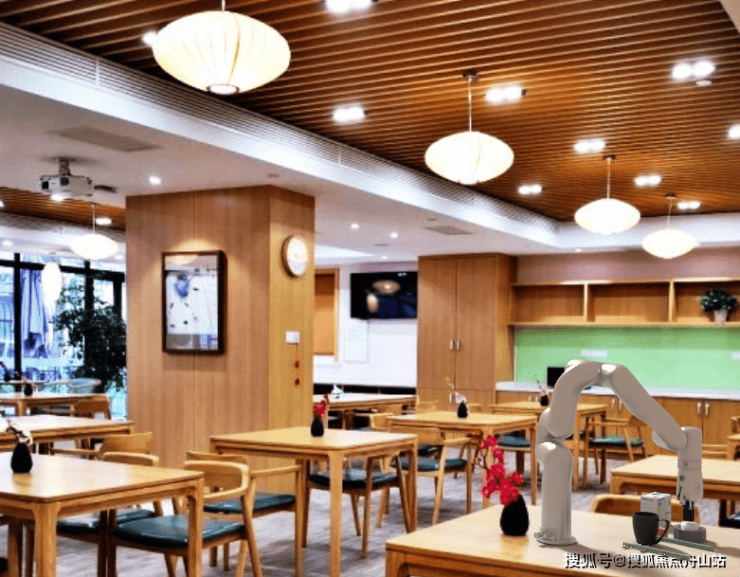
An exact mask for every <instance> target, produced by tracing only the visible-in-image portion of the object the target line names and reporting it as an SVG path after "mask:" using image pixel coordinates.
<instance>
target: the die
mask: <svg viewBox="0 0 740 577" xmlns="http://www.w3.org/2000/svg"><path fill="white" fill-rule="evenodd" d="M665 528H666V527H659V529H658V534H657V536H661V535H662V534H663V532H664V530H665ZM664 537H667V538H669V529H668V530H667V532H666V534H665V535H664Z"/></svg>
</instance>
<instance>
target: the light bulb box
mask: <svg viewBox="0 0 740 577" xmlns="http://www.w3.org/2000/svg"><path fill="white" fill-rule="evenodd" d="M640 512H652V513H656V514H658V515H659V519H667V520H669V522H670V525H669V526H671V525H672V494H670V493H662V492H656V491H653V492H650V493H647V494H644V495H640ZM659 527H663V528H666V522H665V521H659Z"/></svg>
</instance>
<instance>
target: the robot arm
mask: <svg viewBox="0 0 740 577" xmlns="http://www.w3.org/2000/svg"><path fill="white" fill-rule="evenodd" d="M555 382H556V383H554V387H553V389H552V390H553V391H552V395H551V401H550V406H549V407H547V408H546V409H544V410H543V411H542V413H541V414H540V415H539V416H540V417H539V419H538V424H537V428H536V429H537V431H536V438H535V446H534V456H535V459H536V460H537V462H538V464H540V465H541V466H542V467H543V470H542V476H541V526H540V528H539V529H540V530H539V531H535V532H534V533H533V538H535V539H536V541H538V542H540V543H543V544H547V545H552V546H553V545H554V546H555V545H556V546H567V545H573V544H575V543H576V542H577V538H576V536H574V535H572V483H573V482H572V481H573V471H574V465H575V464H574V463H575V461H574V460H575V459H574V455H573V452H572V450H571V449H570V448H569V447H568V446H567V445H566V444H565V439H567V438H569V437H571V436H572V435H573V434H574V432H575V427H576V419H577V413H578V412H577V411H578V404H579V400H580V396H581V394H582V393H583V391H584V390H585V388H587V387H589V386H590V387H597V388H608V389H610V390H611V391H612V392H613V393H614V394H615V395H616V397H617V398H618V400H620V402H621V403H622V404H623V406H625V408H626V409H627V411H629V413H630V414H632V415H633V416H634V417H635V418H637V419H638V420H640V421H641V422H643V423H644V424H646V425H648V427H650V428H651V429H652V432H651V439H652V441H653V443H654V444H655V445H656V446H658V447H659V448H662V449H665V450H668V451H671V452H677V465H676V466H677V467H676V468H677V469H678V470H677V477H676V490H675V491H676V498H677V499H678V500H679V505H681V506H682V521H688V522H695V510H696V503H697V502H698V501H699V500H701V499H703V498H704V481H703V480H704V477H703V470H702V468H703V466H702V464H703V463H702V462H703V458H702V457H703V431H702V429H701V428H699V427H695V426H680V425H679V423H678V422H677V421H676V420H675V418H674V417H673V416H672V415H671V414H670V413H669V412H668V411H667V409H665V408H664V407H663V406H662V405H661V404H659V402H657V401H656V400H655V399H654V397H652V396H651V394H649V392H648V391H647V390H646V389H645V387H644V386H643V385H642V384H641V383H640V381H639V380H638V379H637V377H636V376H635V375H634V374H633V373H632V371H631V370H630V369H629V368H628V367H626V366H625V365H624V364H620V363H614V362H604V361H603V362H602V361H594V360H588V359H581V358H575V359H572V360H570V361H568V362H567V363H566V364H565V367H564V372H563V373H562V374H561V375H560V376H559V378H558V379H557V380H556V381H555Z"/></svg>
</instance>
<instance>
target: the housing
mask: <svg viewBox="0 0 740 577" xmlns="http://www.w3.org/2000/svg"><path fill="white" fill-rule="evenodd" d="M672 533H673V534H672V535H673V536H672V539H677V540H682V541H687V542H692V543H697V544H702V545H703V544H705V543H707V527H705V526H701V525H699V530H686V529H682V528H681V523H679V524H674V525H673V532H672Z"/></svg>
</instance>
